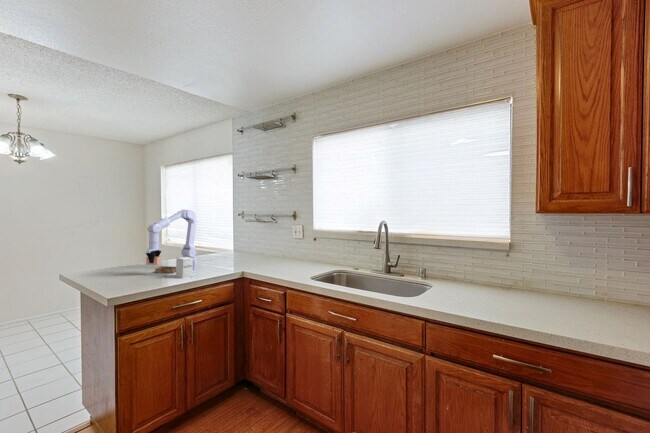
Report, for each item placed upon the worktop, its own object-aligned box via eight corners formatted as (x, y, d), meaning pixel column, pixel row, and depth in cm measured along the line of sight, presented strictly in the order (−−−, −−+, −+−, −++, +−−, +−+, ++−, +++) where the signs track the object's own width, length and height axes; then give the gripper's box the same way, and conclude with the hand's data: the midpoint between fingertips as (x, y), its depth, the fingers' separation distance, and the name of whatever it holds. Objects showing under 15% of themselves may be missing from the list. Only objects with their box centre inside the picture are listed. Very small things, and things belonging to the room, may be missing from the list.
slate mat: (175, 271, 216) (176, 270, 216) (164, 276, 199) (164, 275, 199) (157, 270, 215) (157, 270, 215) (144, 275, 198) (144, 275, 198)
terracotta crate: (160, 263, 205) (160, 256, 205) (156, 265, 200) (157, 257, 200) (150, 263, 204) (150, 256, 204) (146, 264, 199) (146, 257, 199)
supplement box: (182, 278, 194) (182, 259, 193) (175, 277, 198) (176, 257, 197) (192, 276, 200) (193, 257, 200) (186, 275, 204) (186, 256, 204)
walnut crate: (178, 270, 216) (178, 266, 216) (172, 273, 206) (172, 269, 206) (161, 270, 215) (162, 266, 215) (155, 273, 206) (155, 268, 206)
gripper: (153, 240, 209) (153, 260, 209) (141, 243, 194) (141, 264, 194) (163, 241, 209) (163, 260, 209) (153, 243, 195) (152, 264, 195)
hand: (153, 262), depth 202 cm, fingers closed on terracotta crate, 5 cm apart
